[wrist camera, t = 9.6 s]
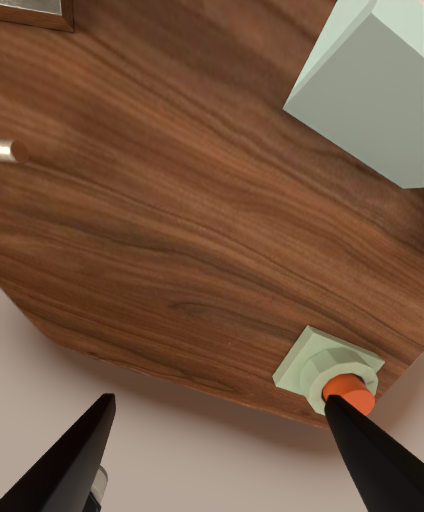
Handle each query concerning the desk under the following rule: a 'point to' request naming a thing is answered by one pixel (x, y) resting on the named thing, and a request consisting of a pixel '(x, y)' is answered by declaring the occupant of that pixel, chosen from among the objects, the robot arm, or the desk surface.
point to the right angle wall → (369, 86)
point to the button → (350, 391)
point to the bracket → (39, 13)
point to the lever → (13, 151)
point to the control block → (324, 365)
